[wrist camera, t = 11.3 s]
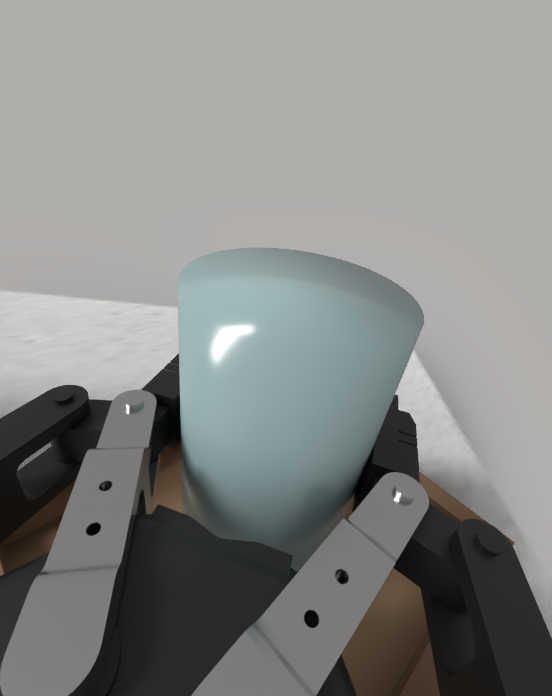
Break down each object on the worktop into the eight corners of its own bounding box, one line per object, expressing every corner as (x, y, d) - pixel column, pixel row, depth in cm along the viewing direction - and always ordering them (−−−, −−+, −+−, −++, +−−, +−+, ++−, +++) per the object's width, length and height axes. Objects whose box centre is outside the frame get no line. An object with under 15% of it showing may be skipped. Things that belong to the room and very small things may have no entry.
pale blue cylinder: (153, 588, 13) (118, 303, 7) (220, 467, 18) (236, 235, 12) (305, 654, 12) (435, 391, 6) (332, 506, 17) (418, 276, 11)
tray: (-23, 555, 15) (-49, 517, 14) (272, 398, 27) (278, 367, 25) (147, 1248, 6) (132, 1375, 5) (485, 573, 18) (514, 542, 16)
